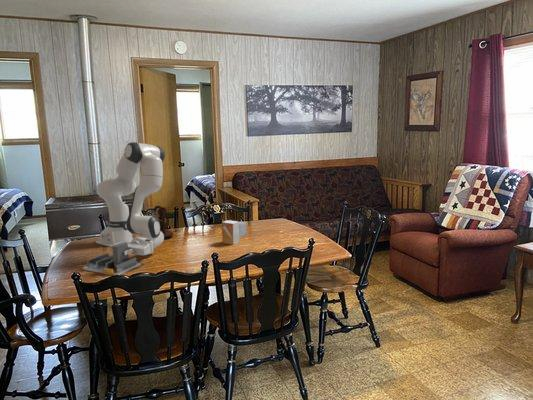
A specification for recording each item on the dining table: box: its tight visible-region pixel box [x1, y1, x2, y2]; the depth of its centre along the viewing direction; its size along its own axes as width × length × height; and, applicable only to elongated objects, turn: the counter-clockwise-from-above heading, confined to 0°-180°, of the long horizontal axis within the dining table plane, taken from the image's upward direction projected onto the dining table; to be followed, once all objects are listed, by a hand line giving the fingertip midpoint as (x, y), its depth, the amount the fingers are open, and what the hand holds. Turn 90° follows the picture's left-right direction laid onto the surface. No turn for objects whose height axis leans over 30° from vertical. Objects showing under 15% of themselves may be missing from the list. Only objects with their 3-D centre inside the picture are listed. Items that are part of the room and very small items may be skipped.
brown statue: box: [153, 205, 174, 239], centre depth 249 cm, size 15×15×20 cm
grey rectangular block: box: [111, 243, 130, 266], centre depth 193 cm, size 3×7×10 cm, turn 157°
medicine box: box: [238, 220, 247, 238], centre depth 252 cm, size 8×4×9 cm, turn 141°
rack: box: [82, 252, 142, 276], centre depth 196 cm, size 22×17×4 cm
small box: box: [221, 219, 240, 246], centre depth 236 cm, size 8×6×13 cm
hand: (120, 252), depth 192 cm, fingers closed on grey rectangular block, 3 cm apart
